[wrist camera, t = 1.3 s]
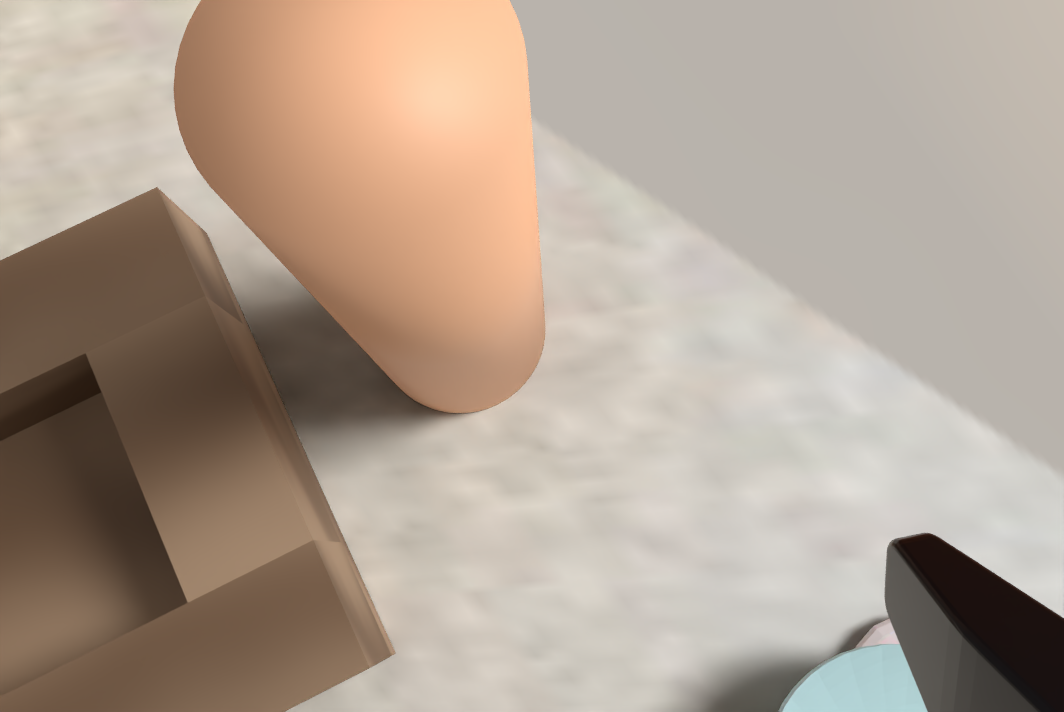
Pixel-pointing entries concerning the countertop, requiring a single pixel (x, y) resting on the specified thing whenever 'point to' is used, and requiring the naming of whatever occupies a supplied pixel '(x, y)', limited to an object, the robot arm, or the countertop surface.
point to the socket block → (158, 489)
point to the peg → (382, 174)
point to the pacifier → (860, 679)
